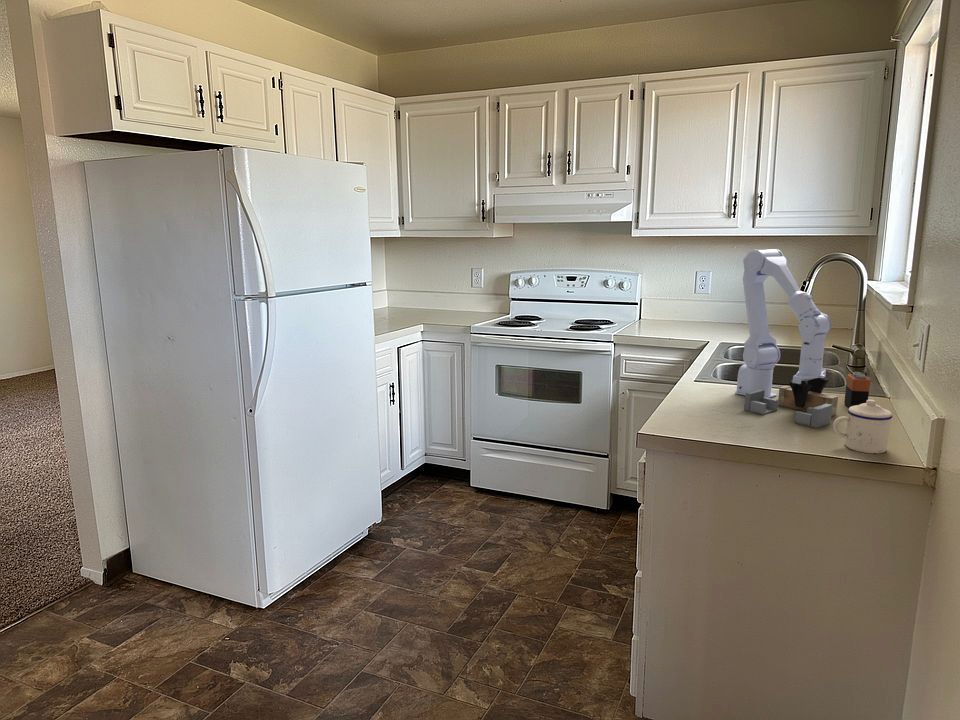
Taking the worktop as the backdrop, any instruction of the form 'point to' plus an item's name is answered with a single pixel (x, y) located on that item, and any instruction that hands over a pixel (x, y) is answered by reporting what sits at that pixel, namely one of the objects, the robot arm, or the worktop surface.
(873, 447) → the teacup with lid
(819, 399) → the rail
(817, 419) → the post slots
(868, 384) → the battery
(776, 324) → the worktop surface
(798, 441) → the worktop surface
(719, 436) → the worktop surface
